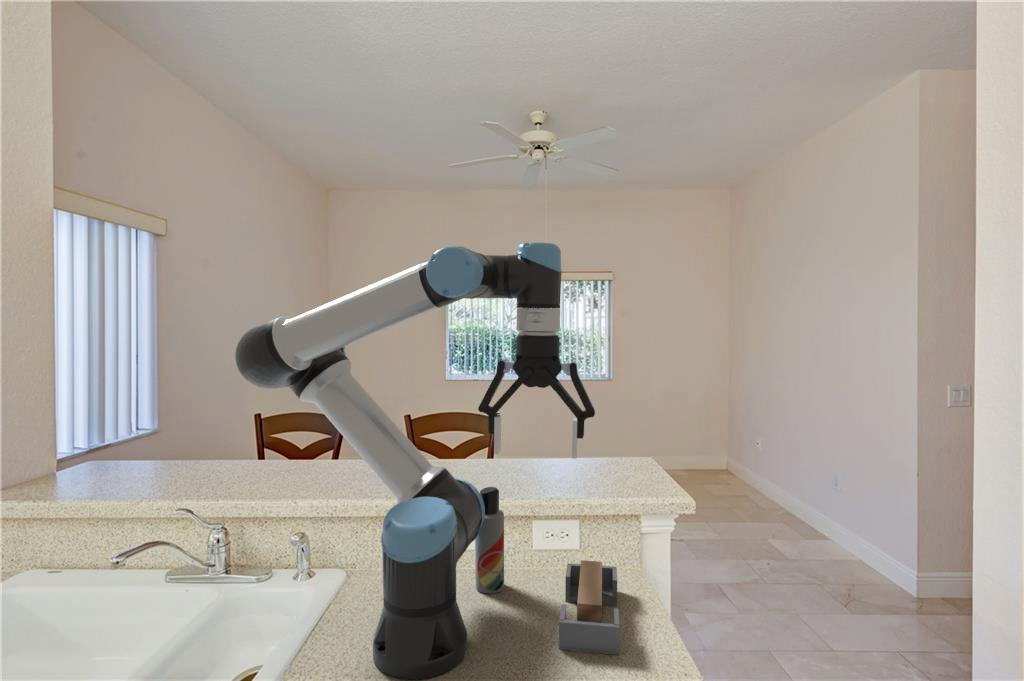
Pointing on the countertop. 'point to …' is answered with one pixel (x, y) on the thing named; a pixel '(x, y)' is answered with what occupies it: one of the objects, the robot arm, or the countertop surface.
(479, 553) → the lotion bottle
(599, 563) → the slat
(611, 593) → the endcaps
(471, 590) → the countertop surface
